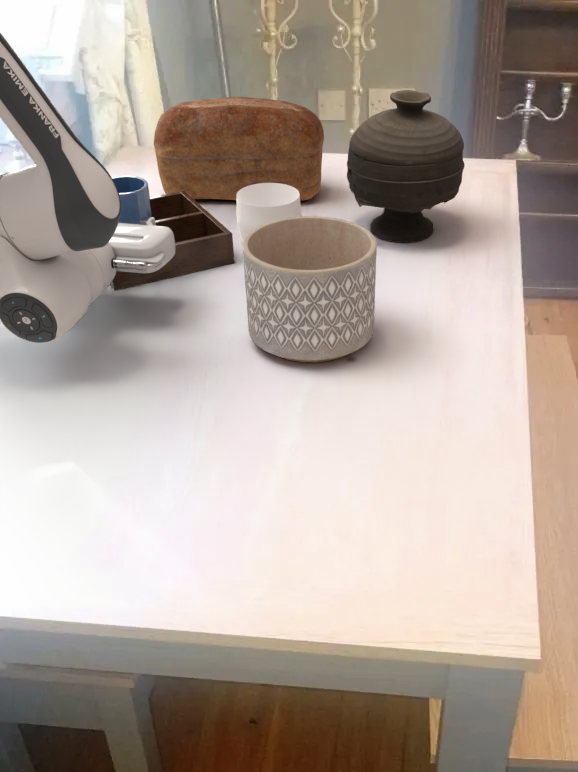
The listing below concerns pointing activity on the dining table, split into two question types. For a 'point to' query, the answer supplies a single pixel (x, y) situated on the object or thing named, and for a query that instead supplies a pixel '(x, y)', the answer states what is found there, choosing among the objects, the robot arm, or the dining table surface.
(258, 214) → the cup
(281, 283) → the planter
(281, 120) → the bread
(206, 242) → the cup rack
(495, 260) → the dining table surface
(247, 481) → the dining table surface
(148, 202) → the tumbler
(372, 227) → the pot
